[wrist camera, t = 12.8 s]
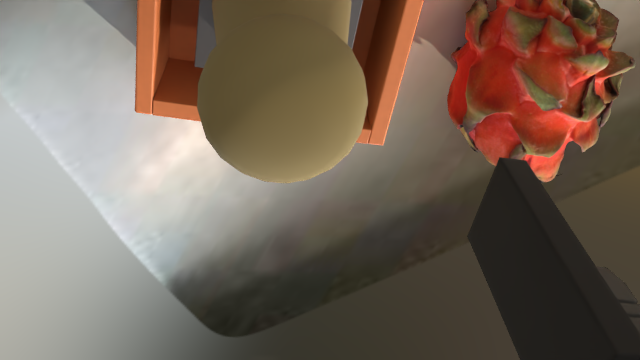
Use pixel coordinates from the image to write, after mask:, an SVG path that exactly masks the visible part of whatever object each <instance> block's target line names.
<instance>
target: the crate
mask: <svg viewBox="0 0 640 360" xmlns="http://www.w3.org/2000/svg"><path fill="white" fill-rule="evenodd" d="M423 2H424V0H363V4H362V9H361V13H360V17H359V22H358V26H357V31H356V35H355V40H354V44H353V48H352V51H353V53H354V55H355V57H356V59H357V61H358V63H359V65H360V66H361V68H362V70H363V73H364V77H365V82H366V89H367V97H368V106H367V110H366V115H365V120H364V124H363V128H362V132H361V134H360V136H359V138H358V139H357V141H356V142H358V143H366V144H367V143H369V144H375V145H383V144H384V140H385V137H386V133H387V130H388V126H389V123H390V119H391V115H392V112H393V108H394V105H395V101H396V98H397V94H398V91H399V87H400V83H401V80H402V76H403V73H404V69H405V66H406V62H407V59H408V55H409V51H410V48H411V44H412V41H413V37H414V34H415V30H416V27H417V23H418V20H419V16H420V12H421V9H422V5H423ZM198 10H199V0H137V41H136V88H135V111H136V112H137V113H145V114H153V115H157V116H164V117H172V118H179V119H187V120H194V121H201V119H200V116H199V113H198V109H197V99H198V82H199V79H200V76H201V73H202V71H203V68H200V67H195V66H194V62H195V49H196V36H197V23H198Z"/></svg>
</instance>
